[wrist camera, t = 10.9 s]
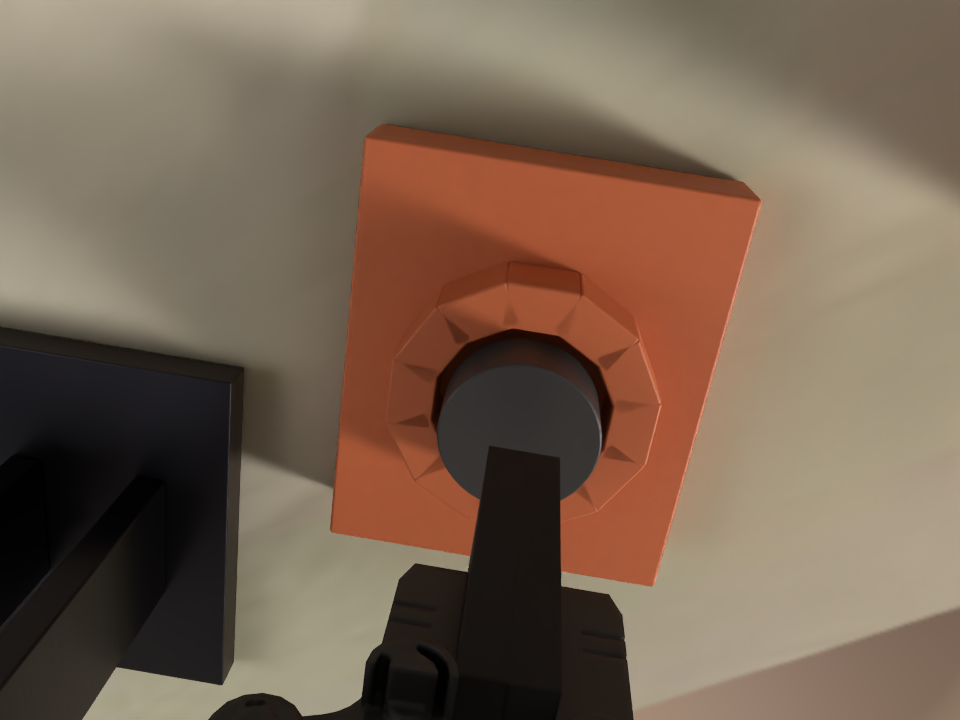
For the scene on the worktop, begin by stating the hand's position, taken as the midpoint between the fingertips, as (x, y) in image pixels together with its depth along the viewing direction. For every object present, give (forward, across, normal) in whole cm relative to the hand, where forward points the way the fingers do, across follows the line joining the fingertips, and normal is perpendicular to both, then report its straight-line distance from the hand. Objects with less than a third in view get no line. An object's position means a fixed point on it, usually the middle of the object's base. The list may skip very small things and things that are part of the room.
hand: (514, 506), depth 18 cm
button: (+5, 0, 0) cm, 5 cm away
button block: (+8, 0, 0) cm, 8 cm away
